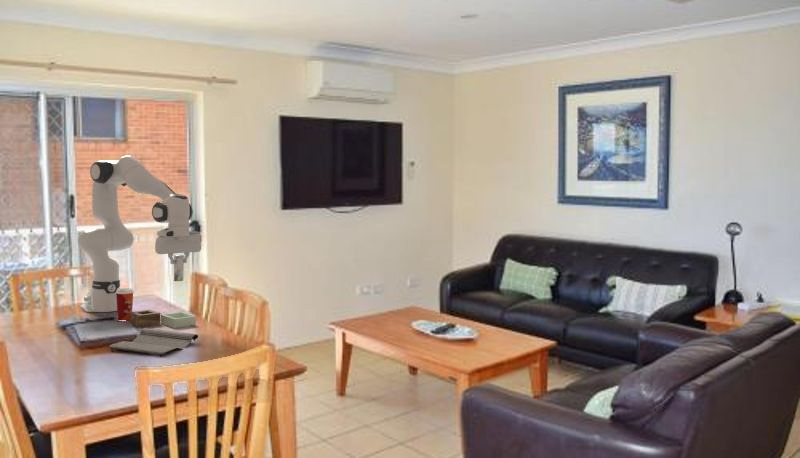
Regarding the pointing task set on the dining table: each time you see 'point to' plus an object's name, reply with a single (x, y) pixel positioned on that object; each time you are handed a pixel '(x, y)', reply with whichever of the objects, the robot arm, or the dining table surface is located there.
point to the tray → (178, 319)
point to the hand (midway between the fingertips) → (178, 263)
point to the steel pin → (179, 268)
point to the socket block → (145, 318)
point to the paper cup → (124, 303)
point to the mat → (156, 342)
